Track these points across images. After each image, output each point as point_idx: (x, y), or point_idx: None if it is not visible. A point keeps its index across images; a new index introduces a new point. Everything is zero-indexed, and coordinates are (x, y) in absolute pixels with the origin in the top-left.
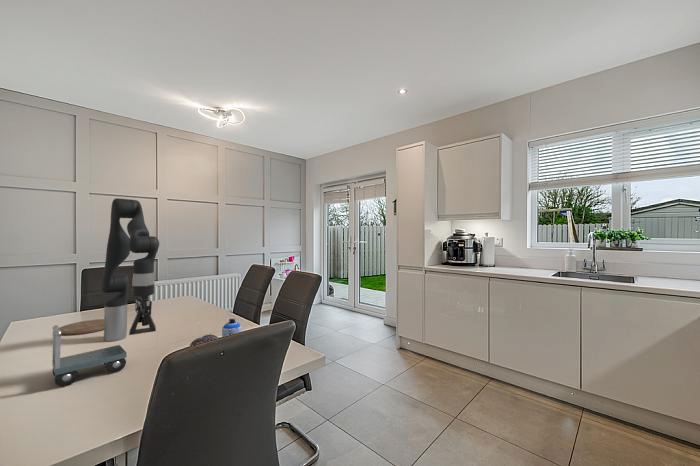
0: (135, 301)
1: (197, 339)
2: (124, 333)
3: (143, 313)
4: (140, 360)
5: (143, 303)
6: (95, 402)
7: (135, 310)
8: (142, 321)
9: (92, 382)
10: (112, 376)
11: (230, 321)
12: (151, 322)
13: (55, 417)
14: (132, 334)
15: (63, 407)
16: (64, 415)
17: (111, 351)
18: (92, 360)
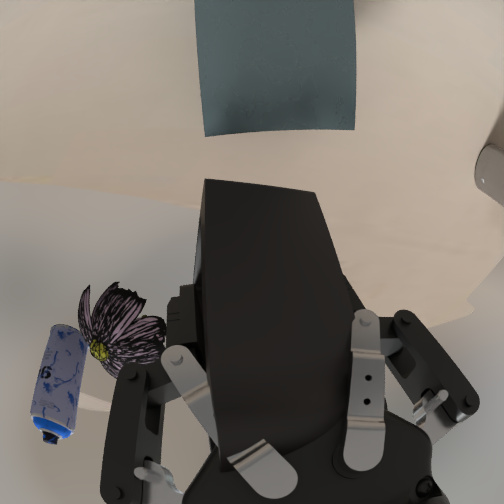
0: (460, 375)
1: (124, 360)
2: (484, 188)
3: (135, 386)
4: (270, 174)
5: (194, 483)
6: (16, 70)
7: (404, 315)
8: (179, 311)
9: (166, 28)
10: (173, 81)
11: (43, 436)
12: None
13: (9, 11)
14: (202, 197)
15: (42, 4)
16: (4, 26)
17: (279, 82)
18: (198, 7)
